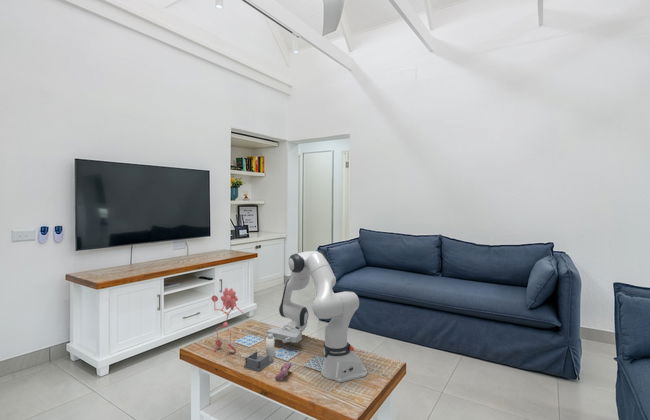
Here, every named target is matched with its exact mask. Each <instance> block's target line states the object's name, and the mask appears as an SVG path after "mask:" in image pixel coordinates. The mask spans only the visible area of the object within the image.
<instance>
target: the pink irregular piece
mask: <svg viewBox="0 0 650 420" xmlns="http://www.w3.org/2000/svg"><path fill="white" fill-rule="evenodd" d="M292 365H293V364H292V363H291V362H286V363H285V364H283V365H282V367H281V368H280V372H279V373H278V374H276V375H275V376H274V379H275V380H276V381H281V380H283V379H285V377H286V376H288V374H289V371H290V369H291V368H292Z"/></svg>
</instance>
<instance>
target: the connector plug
mask: <svg viewBox="0 0 650 420" xmlns="http://www.w3.org/2000/svg"><path fill="white" fill-rule="evenodd" d="M268 354H269V355H270V358H272V359H274V357H275V338H274V337H273V334H272V333H269V334H268V337H267V336H266V338H265V356H266V355H268Z"/></svg>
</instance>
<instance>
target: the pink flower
mask: <svg viewBox="0 0 650 420" xmlns="http://www.w3.org/2000/svg"><path fill="white" fill-rule="evenodd" d="M236 294H237V292H236V291H235V290H234V289H233V288H229V287H225V288H224V290H223V292H222V296H220V301H221V302H222V306H223V307H222V308H221V309H219V308H218V309H217V308H216V302H218V300H219V298H218V296H217V295H216V294H213V295H212V296H211V301H212V302H213V303H214V305H213V307H214V309H213V310H214V311H220V312H223V314H225V315H226V320H225V322H223V324H222V325H220V326H219V327H217V328H216V329H215V331H216V336H217V339H216V340H215V341H214V342H215V347H214V351H213V352H216V350H217V347H218V348H221V347H222V345H223V341H221V339H219V333H218V329H220V328H222V327H223V328H227V329H228V330H229V332H230V335H229V342H227V345H228V347H227V350H226V352H225V355H224V356H225V357H227V354H228V352H229V350H230V349H231V350H232V351H234V352H235V353H237V350H236V348H235V347H234V346H233V345H232V341H231V339H232V332H231V329H230V328H229V323H228V317H229V315H230V314H231V312H232V311H233V310H234V309H235V308H236V309H237V311H240V313H242V314H243V315H244V314H245V313H244V312H243V310H241V309H240V308H239V307H238V306H237V301H239V297H238V296H237V295H236ZM224 309H225V310H224ZM229 309H230V310H229ZM227 310H229V312H227ZM233 344H235V345H239V343H236V342H234V343H233ZM241 347H242V348H243V347H244V346H243V345H241ZM232 359H234V357H232Z"/></svg>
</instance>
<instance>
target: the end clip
mask: <svg viewBox="0 0 650 420" xmlns="http://www.w3.org/2000/svg"><path fill="white" fill-rule="evenodd" d="M274 360H275V359H274V358H270V355H269V354H268V355H266V354H265V356H264V355H261V354H259V355H258V351H254V352H253V353H251V354H249V355H248V356H246V357H245V362H244V363H245V364H243V368H245V369H247V370H248V369H249V370H252V371H255V372H258V373H260V372H261V371H263V370H264V369H265V368H266V367H268V366H269V365H271V364H273V362H274Z"/></svg>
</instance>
